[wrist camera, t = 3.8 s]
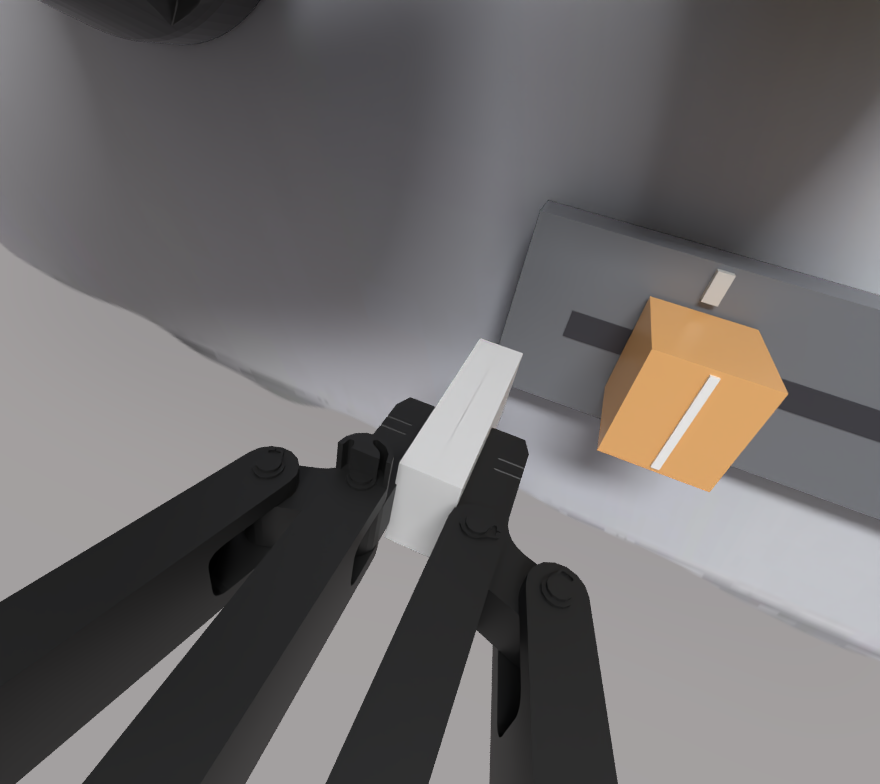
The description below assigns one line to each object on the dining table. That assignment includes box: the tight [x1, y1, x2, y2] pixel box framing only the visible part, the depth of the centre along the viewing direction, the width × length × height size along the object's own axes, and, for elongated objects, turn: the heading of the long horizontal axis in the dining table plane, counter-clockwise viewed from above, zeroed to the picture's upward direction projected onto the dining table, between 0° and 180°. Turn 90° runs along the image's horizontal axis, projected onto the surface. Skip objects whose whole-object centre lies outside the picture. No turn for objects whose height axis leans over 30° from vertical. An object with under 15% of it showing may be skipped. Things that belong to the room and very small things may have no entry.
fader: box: [597, 296, 788, 492], centre depth 17 cm, size 4×4×5 cm
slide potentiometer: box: [499, 200, 880, 520], centre depth 18 cm, size 26×8×4 cm, turn 80°
